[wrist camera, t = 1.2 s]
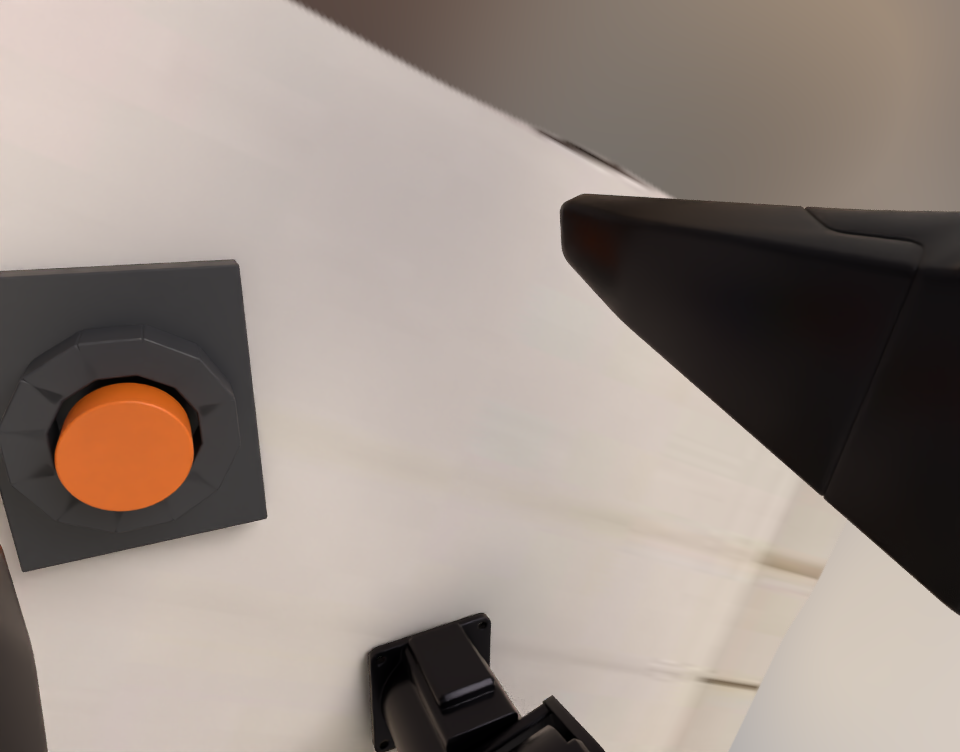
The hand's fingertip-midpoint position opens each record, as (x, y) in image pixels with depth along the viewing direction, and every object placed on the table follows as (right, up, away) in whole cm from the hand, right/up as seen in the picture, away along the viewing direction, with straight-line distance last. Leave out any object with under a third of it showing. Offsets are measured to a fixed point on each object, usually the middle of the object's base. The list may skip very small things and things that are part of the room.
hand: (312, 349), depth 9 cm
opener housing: (-10, -1, +13) cm, 17 cm away
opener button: (-9, -2, +11) cm, 14 cm away
